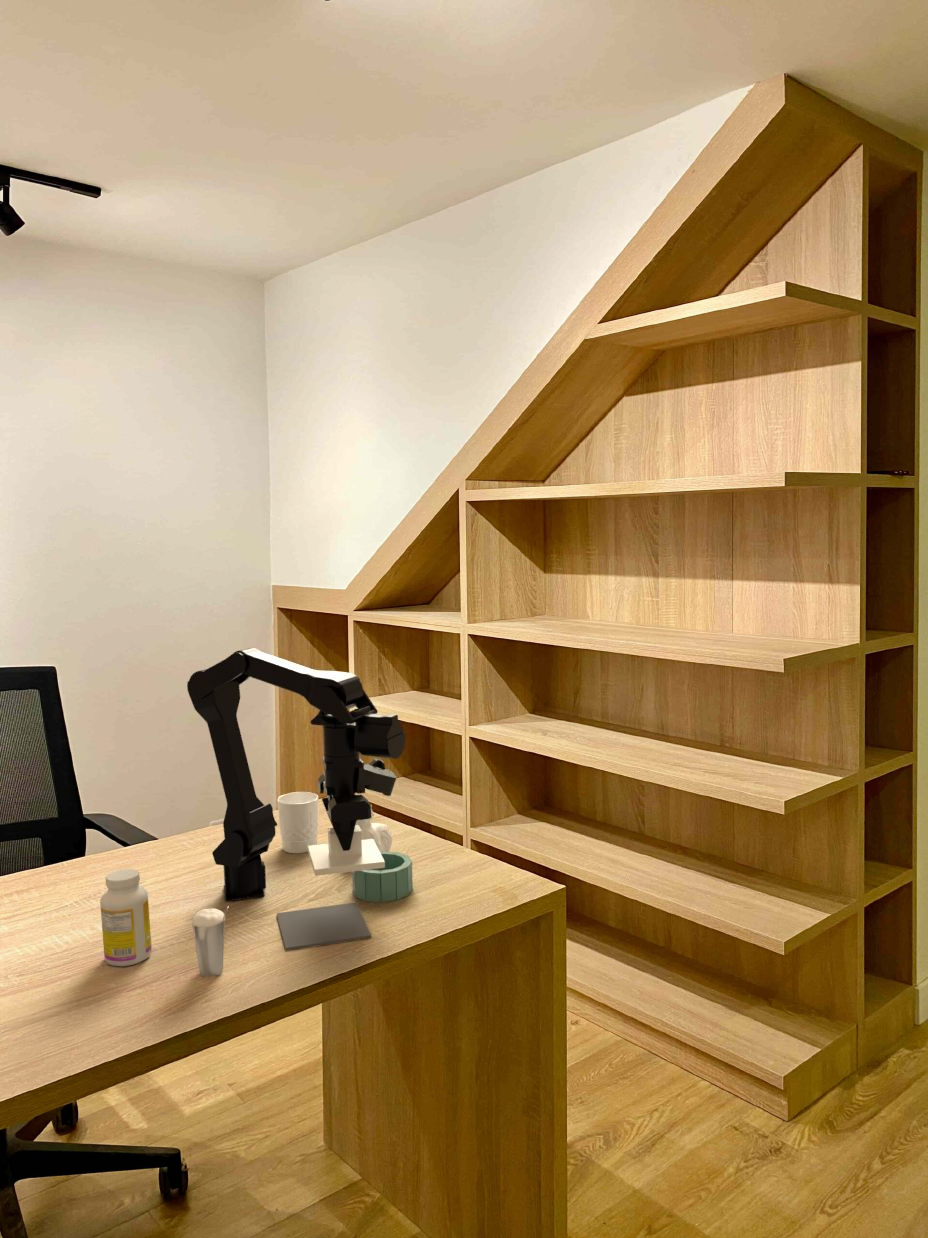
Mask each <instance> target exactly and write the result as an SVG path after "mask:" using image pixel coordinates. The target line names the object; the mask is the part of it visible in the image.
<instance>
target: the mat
mask: <svg viewBox="0 0 928 1238" xmlns="http://www.w3.org/2000/svg"><path fill="white" fill-rule="evenodd" d="M276 918H277V922H278V924H279V929H280V933H281V937H282V941H283V946H284V948H285V949H284V950H285V951H292V950H298V949H305V948H313V947H319V946H326V945H331V944H337V943H344V942H345V943H346V942H351V941H357V940H364V939H365V940H366V939H371V938H372V934H371V931H370V929H369V927H368V924H367V923H366V921H365V919H364V917H363V914H362V913H361V909H360V908H359V906H358V904H357V902H349V903H342V904H341V903H340V904H335V905H334V904H333V905H326V906H319V907H313V908H304V909H297V910H291V911H282V912H277V913H276Z"/></svg>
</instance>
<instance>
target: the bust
mask: <svg viewBox="0 0 928 1238" xmlns="http://www.w3.org/2000/svg"><path fill="white" fill-rule="evenodd" d="M370 805H371V818H369V819H364V820H357V822H356V825H359V827H360V829H361V839H362V840H366V839H374V841H375V843H376V845H377V847H378V849H379V851H380V852H381V851H383V852H384V851H388V852H390V850H391V848H392V844H393V837H392V831H390V827H389V826H388V825H386V824H384V823H380V822H379V823H378V822H372V823H371V821H372V819H373V817H374V816H375V815H374V814H375V813H374V811H373V809H372V807H373V806H372V805H373V804H370Z"/></svg>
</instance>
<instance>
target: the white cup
mask: <svg viewBox="0 0 928 1238" xmlns="http://www.w3.org/2000/svg"><path fill="white" fill-rule="evenodd" d="M276 803H277V811H278V823H279V830H280V835H281V836H280V837H281V848H282V850H283V851H284V852H285V853H290V854H303V853H308V846H311V845H318V833H319V795H318V794H317V793H314V792H309V791H295V792H289V793H286V794H283V795H280V796H279V797H277V802H276Z"/></svg>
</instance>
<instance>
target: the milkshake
mask: <svg viewBox="0 0 928 1238" xmlns="http://www.w3.org/2000/svg"><path fill="white" fill-rule="evenodd" d="M228 909H229V906H228V905H227V907H226V909H225V912H223V911H221V910H220V909H219V908H218V909H217V908H213V907H212V908H202V909H200V910H198V912H196V913H195V914H194V915H193V917H192V919H191V923H192V930H193V936H194V942H195V950H196V956H197V964H198V972H199V975H200V976H201V977H203V978H213V977H214V978H215V977H218V976H219V975H221V974H223V971H224V953H225V951H224V947H225V945H224V944H225V926H226V915H227V912H228V911H229V910H228Z"/></svg>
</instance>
